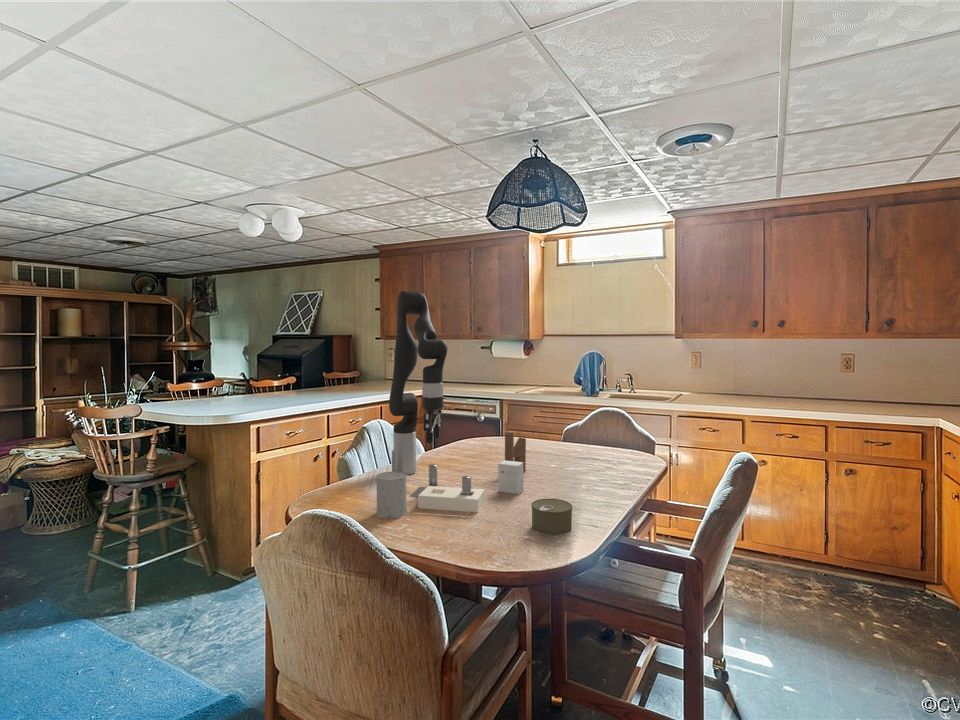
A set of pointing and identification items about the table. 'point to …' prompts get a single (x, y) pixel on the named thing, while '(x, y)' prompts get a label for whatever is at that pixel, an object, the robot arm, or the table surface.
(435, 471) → the steel pin
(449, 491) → the bore block
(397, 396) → the robot arm
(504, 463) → the small box
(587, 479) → the table surface
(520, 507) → the table surface
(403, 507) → the grey concrete cylinder
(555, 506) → the can
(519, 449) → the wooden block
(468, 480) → the seated pin
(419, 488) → the mat
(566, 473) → the table surface
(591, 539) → the table surface
